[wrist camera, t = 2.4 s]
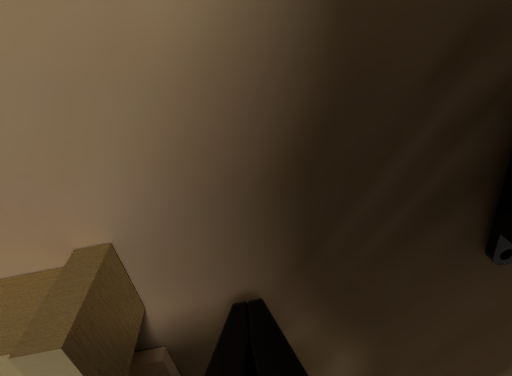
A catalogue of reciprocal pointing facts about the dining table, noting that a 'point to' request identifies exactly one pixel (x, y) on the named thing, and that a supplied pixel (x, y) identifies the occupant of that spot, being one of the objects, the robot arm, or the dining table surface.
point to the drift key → (70, 318)
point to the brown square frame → (153, 363)
